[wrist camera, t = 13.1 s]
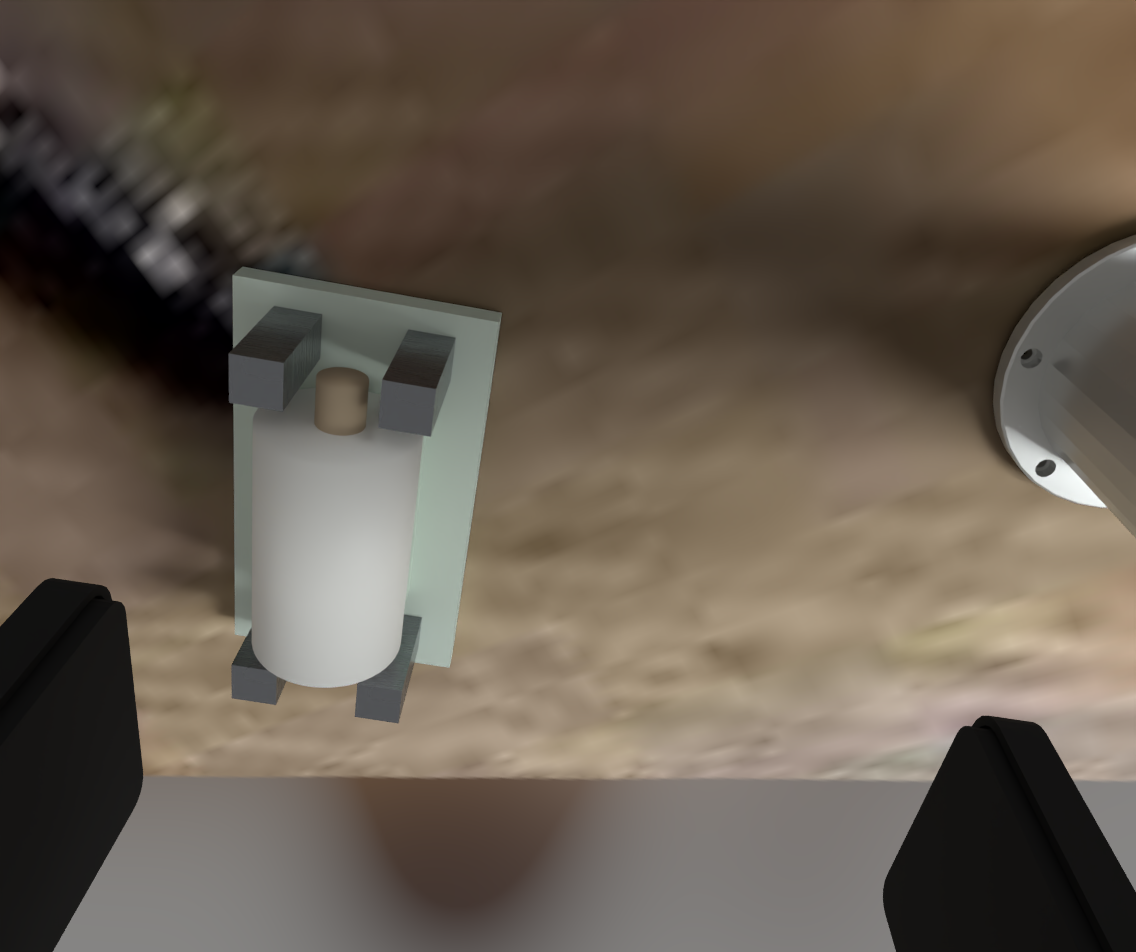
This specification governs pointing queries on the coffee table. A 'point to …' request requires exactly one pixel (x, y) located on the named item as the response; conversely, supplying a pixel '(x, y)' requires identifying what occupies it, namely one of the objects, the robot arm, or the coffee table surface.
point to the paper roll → (330, 533)
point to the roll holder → (408, 404)
